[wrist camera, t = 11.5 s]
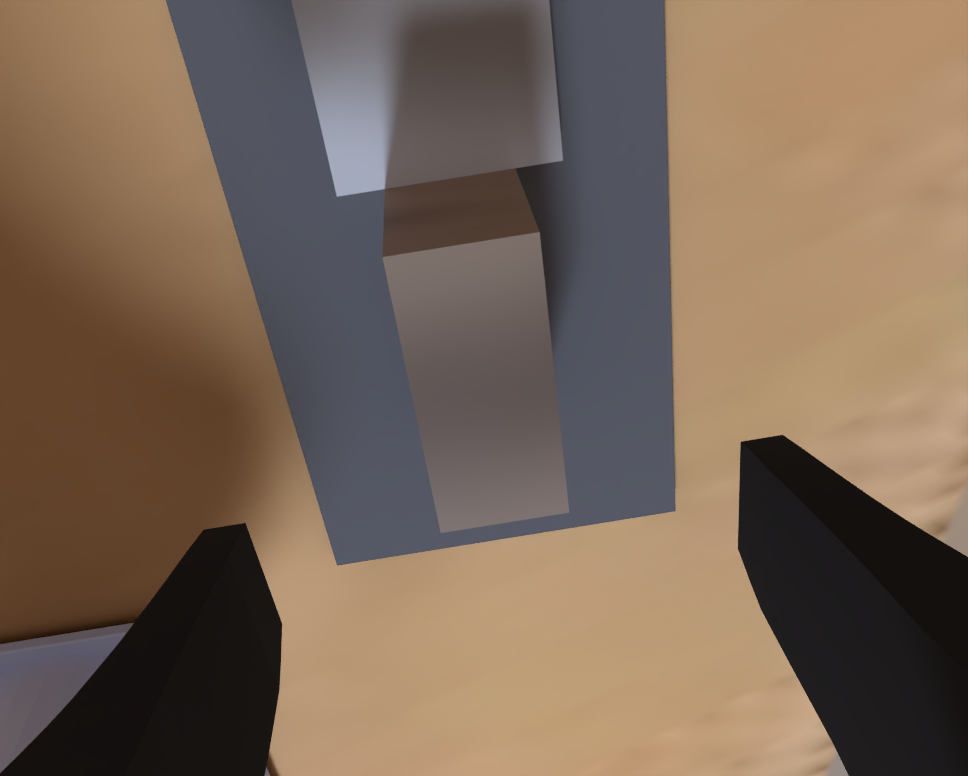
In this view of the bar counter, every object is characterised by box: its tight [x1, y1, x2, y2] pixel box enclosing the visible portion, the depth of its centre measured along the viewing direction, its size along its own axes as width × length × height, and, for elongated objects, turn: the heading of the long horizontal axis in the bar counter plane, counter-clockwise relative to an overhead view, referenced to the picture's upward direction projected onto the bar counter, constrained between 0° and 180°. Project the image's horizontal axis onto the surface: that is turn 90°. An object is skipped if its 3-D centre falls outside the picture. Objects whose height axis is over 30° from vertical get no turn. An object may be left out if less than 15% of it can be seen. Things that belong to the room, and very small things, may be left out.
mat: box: [166, 0, 675, 565], centre depth 19 cm, size 14×9×1 cm, turn 8°
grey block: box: [291, 0, 569, 533], centre depth 16 cm, size 11×4×4 cm, turn 8°
